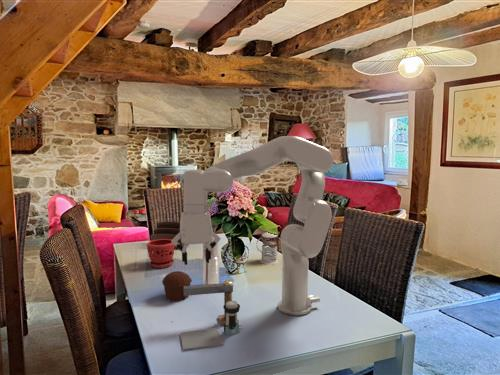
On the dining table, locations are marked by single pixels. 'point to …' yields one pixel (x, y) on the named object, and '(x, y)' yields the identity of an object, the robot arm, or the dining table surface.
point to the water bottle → (211, 265)
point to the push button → (231, 318)
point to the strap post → (223, 317)
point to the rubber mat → (200, 339)
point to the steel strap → (209, 288)
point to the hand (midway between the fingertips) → (196, 262)
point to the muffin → (176, 285)
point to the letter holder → (166, 231)
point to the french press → (269, 249)
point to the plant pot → (161, 253)
